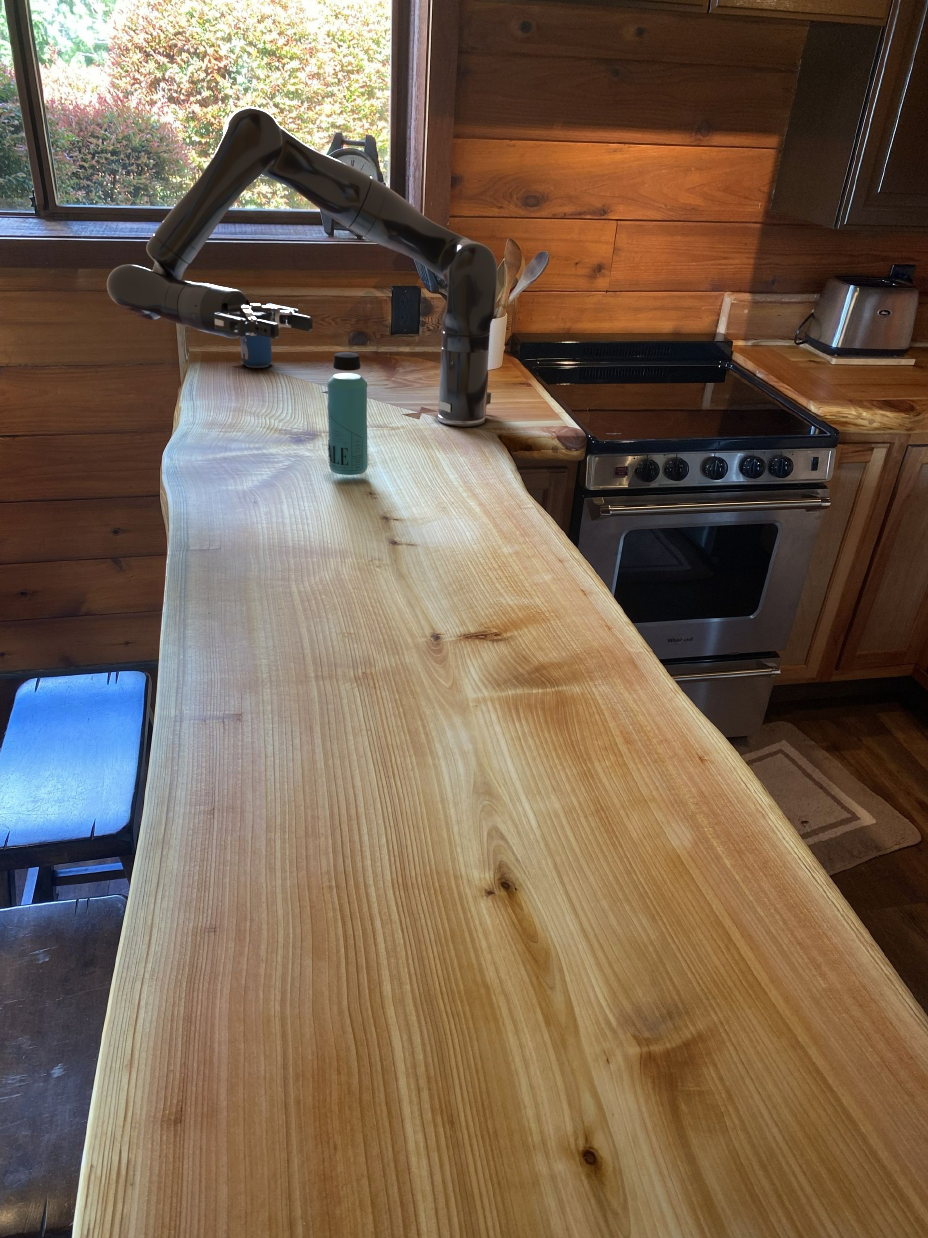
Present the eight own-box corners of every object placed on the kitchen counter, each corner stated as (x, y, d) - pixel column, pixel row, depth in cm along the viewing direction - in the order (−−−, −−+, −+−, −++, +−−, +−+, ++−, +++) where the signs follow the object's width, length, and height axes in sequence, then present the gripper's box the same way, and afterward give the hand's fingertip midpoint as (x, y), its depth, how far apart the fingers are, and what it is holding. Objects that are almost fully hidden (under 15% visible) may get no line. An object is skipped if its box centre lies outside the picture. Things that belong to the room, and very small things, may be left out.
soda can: (277, 363, 213) (274, 310, 207) (264, 369, 207) (261, 315, 201) (249, 360, 214) (246, 307, 208) (236, 366, 208) (233, 312, 202)
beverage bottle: (371, 472, 150) (372, 350, 140) (364, 486, 144) (363, 359, 135) (333, 469, 150) (331, 347, 141) (324, 482, 145) (320, 356, 135)
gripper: (181, 289, 139) (265, 307, 133) (242, 281, 150) (322, 298, 144) (184, 339, 143) (265, 359, 137) (243, 327, 154) (321, 345, 148)
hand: (294, 327), depth 141 cm, fingers open, 8 cm apart
